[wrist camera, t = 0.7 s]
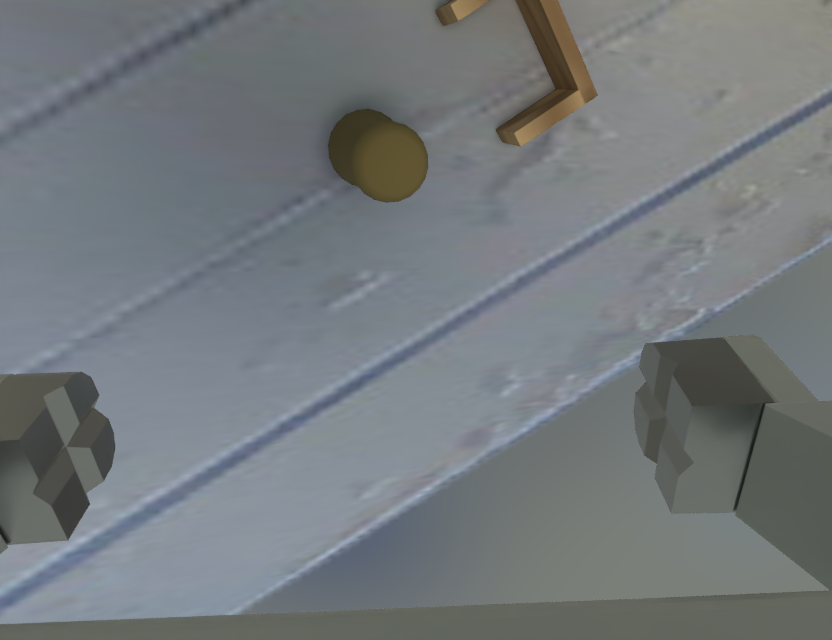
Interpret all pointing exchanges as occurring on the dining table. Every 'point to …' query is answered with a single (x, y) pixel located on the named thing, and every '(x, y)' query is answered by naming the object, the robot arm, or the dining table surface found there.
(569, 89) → the catch
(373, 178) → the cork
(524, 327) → the dining table surface
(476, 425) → the dining table surface
